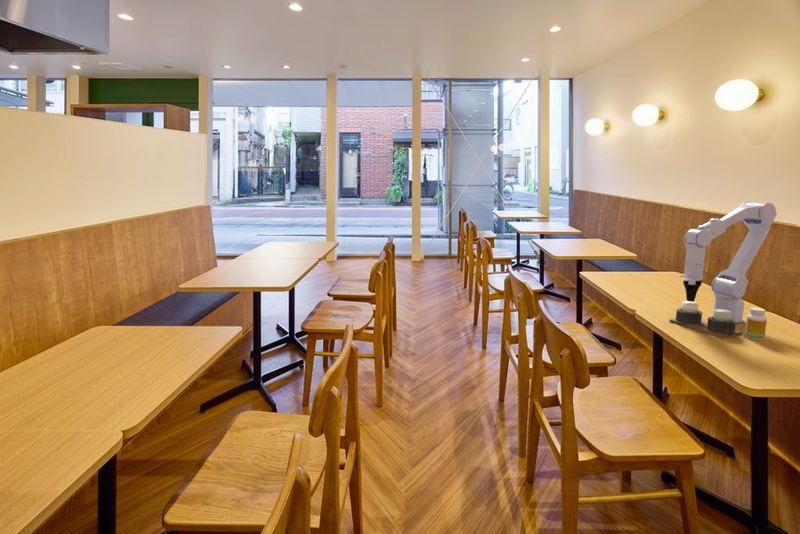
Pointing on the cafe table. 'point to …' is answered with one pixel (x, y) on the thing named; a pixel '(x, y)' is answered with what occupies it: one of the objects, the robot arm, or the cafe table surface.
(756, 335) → the supplement bottle
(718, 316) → the peg sage
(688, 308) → the peg cream
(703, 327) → the collar board
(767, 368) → the cafe table surface
